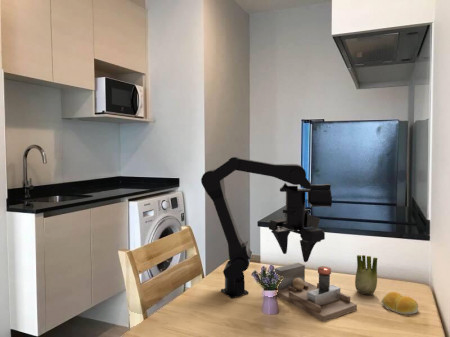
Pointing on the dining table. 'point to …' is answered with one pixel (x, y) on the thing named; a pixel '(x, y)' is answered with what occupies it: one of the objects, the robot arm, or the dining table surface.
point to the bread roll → (400, 303)
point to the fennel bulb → (366, 275)
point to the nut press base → (300, 296)
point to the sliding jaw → (324, 289)
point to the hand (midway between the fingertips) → (295, 257)
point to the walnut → (298, 283)
